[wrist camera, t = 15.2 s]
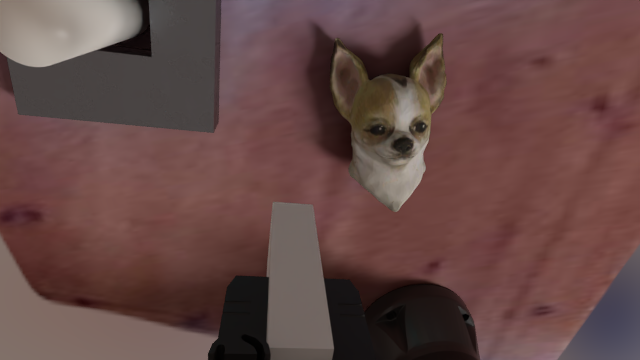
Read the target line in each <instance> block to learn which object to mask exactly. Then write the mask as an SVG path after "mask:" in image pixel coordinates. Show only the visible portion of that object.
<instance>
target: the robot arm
mask: <svg viewBox="0 0 640 360" xmlns="http://www.w3.org/2000/svg"><path fill="white" fill-rule="evenodd" d="M208 360H480V356H479V350H478V343H477V337H476V331H475V325H474V321H473V318H472V316H471V314H470V312H469V310H468V309H467V307H466V305H465V303H464V302H463V300H462V299H461V298H460V297H459V296H458V295H457V294H455V293H454V292H452V291H450V290H448V289H446V288H443V287H440V286H436V285H424V284H422V285H412V286H407V287H403V288H399V289H397V290H394V291H392V292H390V293H388V294H386V295H384V296H382V297H381V298H379V299H378V300H377V301H375V302H374V303H373V304H372V305H371V306H370V307H369V308H368V309H367V310H366V312H365V313H364V310H363V307H362V303H361V299H360V295H359V291H358V290H357V289H356V287H355V286H354V285H353V284H352V282H351V281H350V280H345V279H324V277H323V271H322V264H321V257H320V250H319V243H318V237H317V230H316V223H315V216H314V210H313V205H309V204H295V203H281V202H273V206H272V217H271V227H270V238H269V249H268V260H267V277H255V276H236V277H235V278H234V279H233V280H232V282H231V283H230V284H229V285H228V287H227V291H226V297H225V303H224V308H223V315H222V319H221V325H220V330H219V336H218V339H217V340H216V341H215V342H214V343H213V344H212V346H211V348H210V350H209V353H208Z"/></svg>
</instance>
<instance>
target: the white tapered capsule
mask: <svg viewBox="0 0 640 360" xmlns="http://www.w3.org/2000/svg"><path fill="white" fill-rule="evenodd" d="M149 23H150V12H149V4H148V2H147V0H0V52H1V53H2V54H4V55H5V56H7V57H8V58H10V59H11V60H13V61H15V62H17V63H20V64H23V65H26V66H31V67H46V66H50V65H53V64H56V63H59V62H62V61H65V60H68V59H71V58H74V57H77V56H80V55H83V54H86V53H89V52H92V51H95V50H98V49H101V48H104V47H107V46H110V45H113V44H116V43H119V42H122V41H125V40H128V39H131V38H133V37H136V36H139V35H141V34H142V33H143V32H144V31H145V30H146V29H147V27H148V25H149Z"/></svg>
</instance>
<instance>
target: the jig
mask: <svg viewBox="0 0 640 360" xmlns="http://www.w3.org/2000/svg"><path fill="white" fill-rule="evenodd" d="M149 12H150V32H151V50H144V49H135V48H127V47H119V46H107V47H104V48H101V49H98V50H95V51H92V52H89V53H86V54H83V55H80V56H77V57H74V58H71V59H68V60H65V61H62V62H59V63H56V64H53V65H50V66H46V67H31V66H26V65H23V64H20V63H17V62H15V61H13V60H11V59H10V58H8V57H7V56H6V57H7V61H8V66H9V71H10V76H11V81H12V86H13V91H14V96H15V101H16V105H17V110H18V114H19V115H30V116H41V117H51V118H62V119H72V120H83V121H94V122H104V123H115V124H125V125H136V126H147V127H157V128H168V129H179V130H189V131H200V132H210V133H214V131H215V129H216V127H217V124H218V117H219V71H220V26H221V0H149Z"/></svg>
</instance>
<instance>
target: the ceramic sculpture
mask: <svg viewBox="0 0 640 360" xmlns="http://www.w3.org/2000/svg"><path fill="white" fill-rule="evenodd" d="M442 47H443V34H438V35H437V36H436V37H435V38H434V39H433V40H432V41H431V43H430V44H429V45H427V46H426V47H425V48H424V49H423V50H422V51H420V52H419V53H418V54H417V55H416V56H415V57H414V58H413V59H412V61H411V63H410V67H409V74H410V78H408V77H405V76H401V75H396V74H383V75H380V76H378V77H375V78H374V79H372V80H369V79H368V74H367V71H366V69H365V66H364V64H363V62H362V61H361V59H359V58H358V57H357V56H356V55H354V54H353V53H352V52H351V51H350V50H348V49H347V48H346V47H345V46H344V44H343V43H342V42H341V40H340V39H339V38H336V39H335V43H334V50H333V54H332V57H331V66H330V89H331V92H332V96H333V101H334V105H335V107H336V108H337V110H338V111H339V113H340V114H341V115H342V116H343V117H344V118H346V119H347V120H348V121H349V122H350V124H351V127H352V132H351V138H352V143H351V146H352V147H353V159H352V161H351V163H350V166H349V174H350V176H351V177H353V178H354V179H355V180H356V181H357V182H359V183H360V184H361V185H362V186H363V187H364V188H365V189H366V190H368V191H369V192H370V193H371V194H372V195H373V196H374V197H376V199H377V200H378V201H380V202H381V203H383V204H384V205H386V206H387V207H388V208H389V209H390V210H392V211H394V212H397V211H398V210H399V209H400V207H401V206H402V204H403V203H404V202H405V201H406V200H407V199H408V198H409V197H410V195H411V194H412V193H413V191H414V190H415V188H416V187H417V186H418V184H419V183H420V181H421V179H422V175H423V173H424V172H425V169H426V167H425V163H424V161H423V152H424V150H425V147H426V145H427V144H428V141H429V136H430V125H431V114H432V113H433V112H434V111H435V110H436V109H437V108H438V107H439V105H440V103H441V102H442V100H443V98H444V88H445V86H446V82H447V81H446V74H445V64H444V58H443V50H442Z"/></svg>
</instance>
